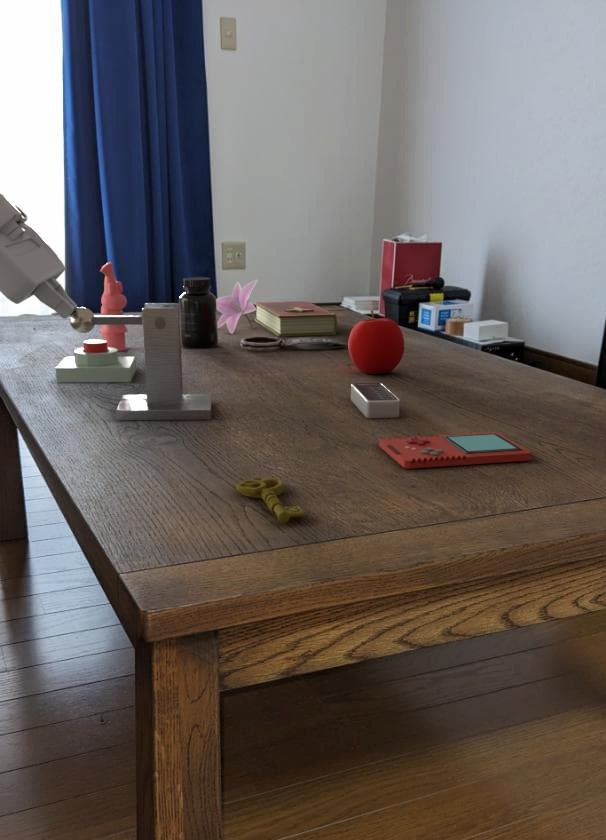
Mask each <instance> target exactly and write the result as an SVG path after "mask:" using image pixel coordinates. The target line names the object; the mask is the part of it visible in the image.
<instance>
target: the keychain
mask: <svg viewBox="0 0 606 840" xmlns="http://www.w3.org/2000/svg"><path fill="white" fill-rule="evenodd" d="M239 342H240V343H239V345H240V346H241V348H242V349H243V350H244V349H245V350H249V351H262V352H263V351H274V350H275V351H276V350H278V349H282V348H284V347H285V348H289V349H294V350H301V351H302V350H303V351H304V350H306V351H308V350H311V351H318V350H333V349H338V348H343V347H346V346H347V344H346V343H344V342H343V341H342V340H341V339H339V338H332V337H327V336H304V337H302V336H299V337H293V338H292V337H291V338H288V339H286V338H285V337H284V336H278V337H273V336H248V337H243V338H241V339H240V340H239Z"/></svg>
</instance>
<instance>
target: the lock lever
mask: <svg viewBox="0 0 606 840" xmlns="http://www.w3.org/2000/svg"><path fill="white" fill-rule="evenodd" d="M69 325H70V326H71V328H72V329H73V330H74V331H76V332H77V333H80V334H87V333H90V332H91V331H92V330H93V329H94V328H95V326H102V325H125V326H126V325H127V326H135V325H137V326H143V320H142V315H124V316H102V315H95V314H94V313H93V311H92V310H91V309H90V308H87V307H84V306H81V307H77V308H76V309H75V311H74V312H73V313H72V314H71V315H70V316H69Z"/></svg>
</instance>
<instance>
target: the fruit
mask: <svg viewBox="0 0 606 840" xmlns="http://www.w3.org/2000/svg"><path fill="white" fill-rule="evenodd" d="M370 313H371V316H372V318H369V319H364V320H361V321H359V322H357V324H354V326H353V328H352V329H351V331H350V334H349V337H348V343H347V347H348V354H349V357H350V359H351V361H352V363H353V365H354V366H355V367H356V369H357V370H359V371H361V372H362V373H365V375H366V374H367V375H379V374H388V373H390V372H392V371H394V369H396V367H398V365H399V364H400V362H401V361H402V359H403V356H404V353H405V338H404V334H403V331H402V329H401V327H400V326H399V324H397V322H396V321H394V320H393V319H391V318H385V317H381V318H375V314H374V309H370Z"/></svg>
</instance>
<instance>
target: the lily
mask: <svg viewBox="0 0 606 840" xmlns="http://www.w3.org/2000/svg"><path fill="white" fill-rule="evenodd" d="M258 281H259V280H258V279H253V280H252V281H251V280H250V281H249V282H248V283H246V284H245V285H244V286H243V287H242V285H241V283H240V281H239V280H238V281H236V282H235V284H234V286H233V289H232V290H231V294H230V295H229V294H228V295H223V296H220V297H218V298H216V304H217V312H219V313H220V314H221V316H220V317H219V318H218V319H217V328H218V329H219V328H221V327H222V326H224V325H225V324H226V328H227V330H228V332H229V333H230V334H231V335H233V334H234V332H235V330H236V327H237V324H238V322H239V319H240V318H241V316H243V315H244V316H245V318H246V319H247V321H248V323H249V325H250V327H251V328H252V329H253V328H254V327H253V324H252V322H251V320H250V318H249V316H248V315H247V314H250V313H252V312H255V311H257V307H256V305H255V304H254V303H252V302H251V301H250V300H249V298H250V296H251V294H252V292H253V290H254V288H255V287H256V285H257V283H258Z"/></svg>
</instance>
